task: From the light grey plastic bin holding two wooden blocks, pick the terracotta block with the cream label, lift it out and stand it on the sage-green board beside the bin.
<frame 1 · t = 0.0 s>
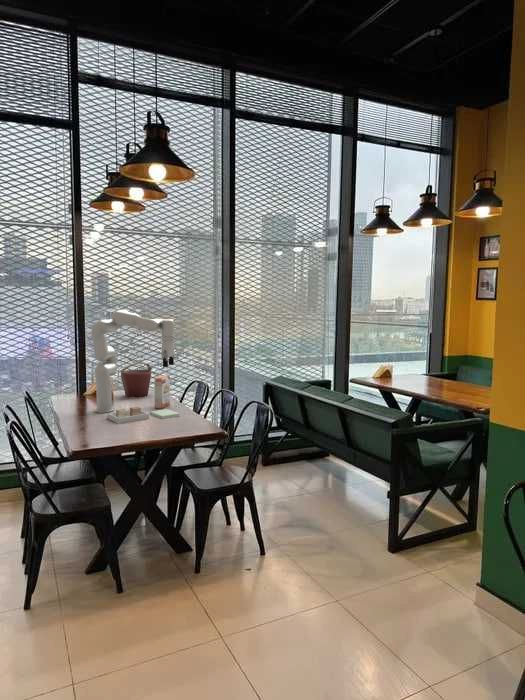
hand: (168, 365, 315), 31 cm above the table, tool pointing down, fingers open, 9 cm apart
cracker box: (162, 406, 340), on the table
bin: (128, 419, 305), on the table
board: (164, 415, 315), on the table
bucket: (137, 396, 378), on the table
labelled block: (135, 417, 308), resting on bin
plain block: (121, 419, 302), resting on bin
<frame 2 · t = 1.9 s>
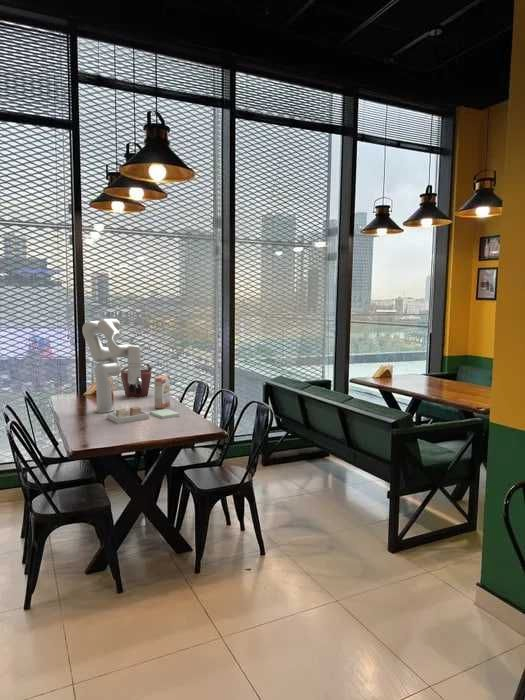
hand: (135, 393, 306), 16 cm above the table, tool pointing down, fingers open, 9 cm apart
nothing on the table moved.
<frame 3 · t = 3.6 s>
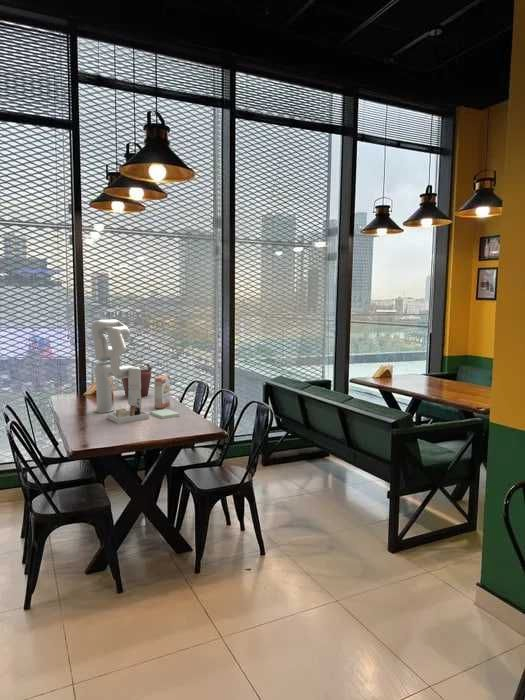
hand: (135, 415, 308), 1 cm above the table, tool pointing down, fingers closed on labelled block, 5 cm apart
labelled block: (135, 417, 308), point 1 cm above the table, touching bin, gripper
everything else where it was.
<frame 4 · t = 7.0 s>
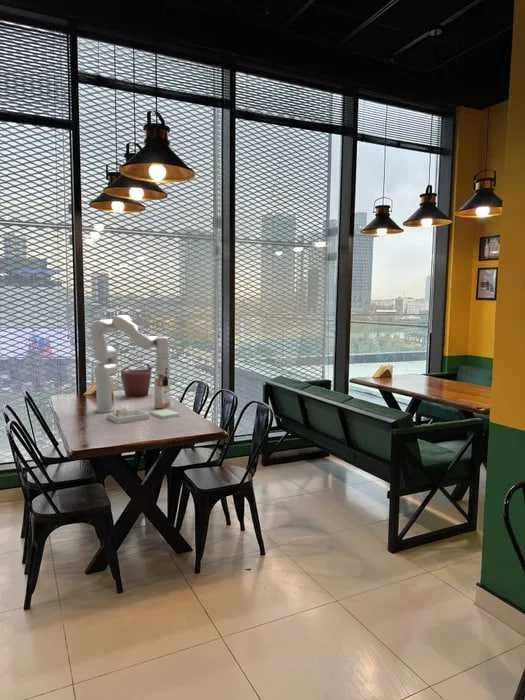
hand: (163, 384, 312), 20 cm above the table, tool pointing down, fingers closed on labelled block, 5 cm apart
labelled block: (163, 386, 313), point 19 cm above the table, touching gripper
everything else where it was.
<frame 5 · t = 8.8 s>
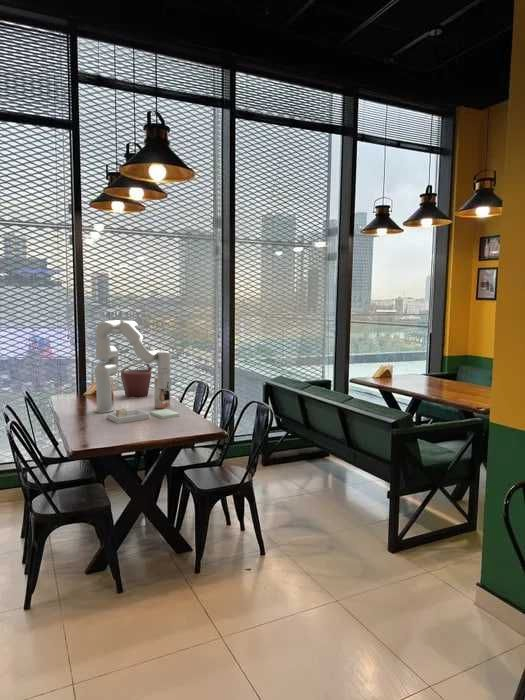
hand: (164, 398, 314), 11 cm above the table, tool pointing down, fingers closed on labelled block, 5 cm apart
labelled block: (164, 400, 314), point 10 cm above the table, touching gripper
everything else where it was.
when the fingers open (4 cm above the table, at t = 10.4 s): labelled block drops 1 cm, resting on board.
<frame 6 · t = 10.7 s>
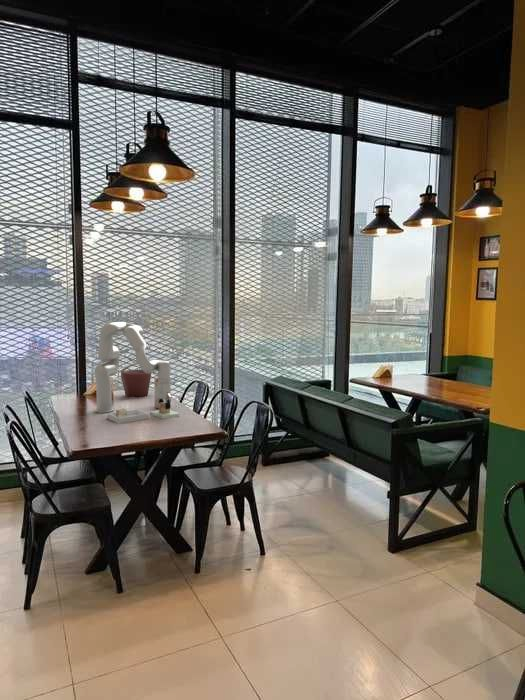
hand: (164, 407, 314), 5 cm above the table, tool pointing down, fingers open, 8 cm apart
labelled block: (164, 412, 315), point 2 cm above the table, touching board
everything else where it was.
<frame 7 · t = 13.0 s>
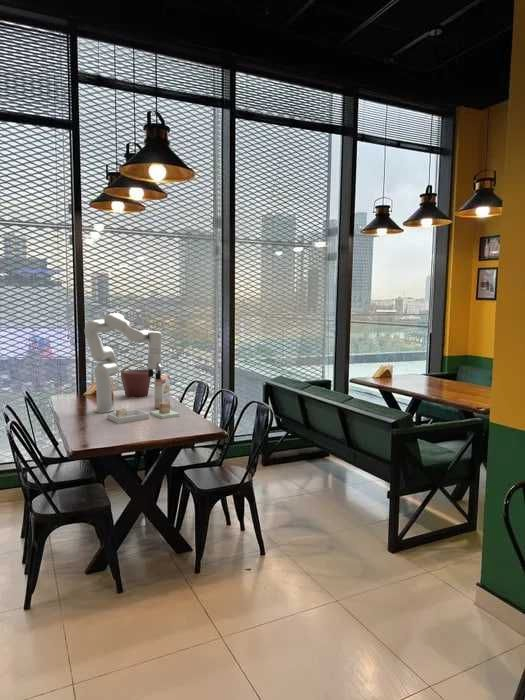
hand: (154, 378, 313), 24 cm above the table, tool pointing down, fingers open, 9 cm apart
nothing on the table moved.
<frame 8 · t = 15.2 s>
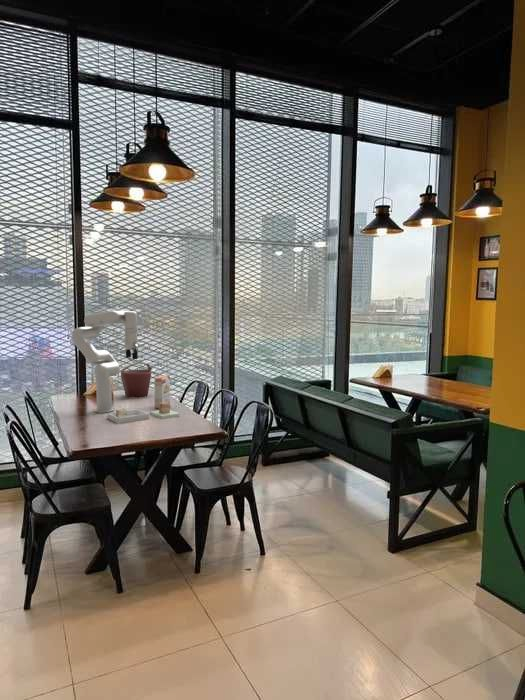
hand: (131, 358, 312), 36 cm above the table, tool pointing down, fingers open, 9 cm apart
nothing on the table moved.
at the end: labelled block inside the target area on the board (0.2 cm from its centre), point 2.0 cm above the board's base; labelled block tilted 0°; the gripper is holding nothing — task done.
